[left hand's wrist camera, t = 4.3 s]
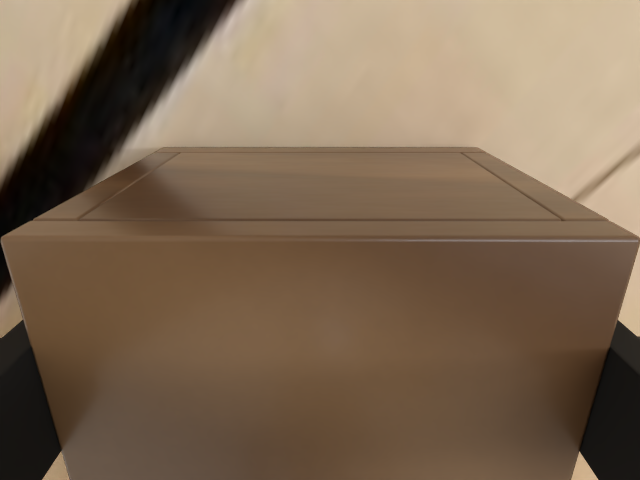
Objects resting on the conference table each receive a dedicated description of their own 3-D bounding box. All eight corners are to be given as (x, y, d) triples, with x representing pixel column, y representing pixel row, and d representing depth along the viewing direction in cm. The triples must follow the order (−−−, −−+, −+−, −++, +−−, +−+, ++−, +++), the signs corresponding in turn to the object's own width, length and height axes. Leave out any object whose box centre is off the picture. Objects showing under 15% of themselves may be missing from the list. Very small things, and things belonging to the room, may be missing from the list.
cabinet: (428, 524, 23) (486, 773, 15) (211, 524, 23) (153, 771, 15) (479, 147, 16) (645, 237, 8) (161, 147, 16) (-4, 237, 8)
